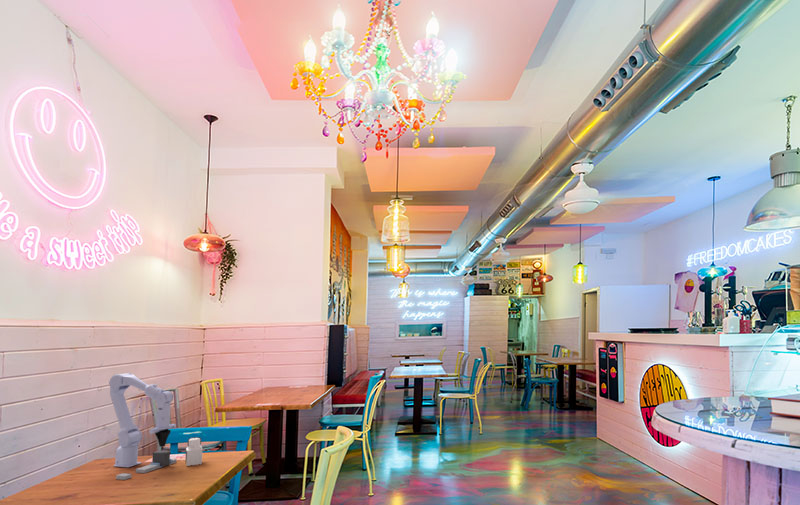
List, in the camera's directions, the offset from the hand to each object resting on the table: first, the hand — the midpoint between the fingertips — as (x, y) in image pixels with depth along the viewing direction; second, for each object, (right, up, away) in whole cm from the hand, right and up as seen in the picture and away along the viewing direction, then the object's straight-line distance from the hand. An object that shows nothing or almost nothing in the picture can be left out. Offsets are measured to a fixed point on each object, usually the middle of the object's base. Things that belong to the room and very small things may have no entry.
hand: (162, 446), depth 239 cm
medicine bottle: (+15, -9, +1) cm, 17 cm away
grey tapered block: (0, -8, -1) cm, 9 cm away
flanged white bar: (-2, -8, -9) cm, 12 cm away
